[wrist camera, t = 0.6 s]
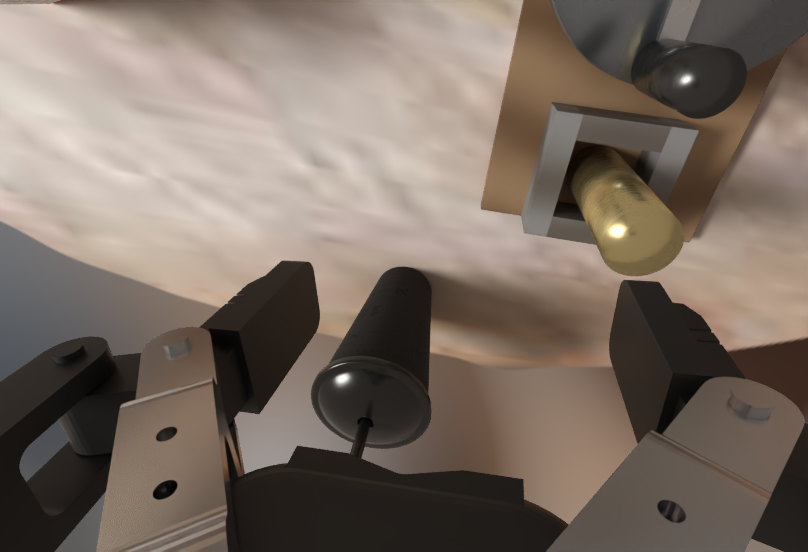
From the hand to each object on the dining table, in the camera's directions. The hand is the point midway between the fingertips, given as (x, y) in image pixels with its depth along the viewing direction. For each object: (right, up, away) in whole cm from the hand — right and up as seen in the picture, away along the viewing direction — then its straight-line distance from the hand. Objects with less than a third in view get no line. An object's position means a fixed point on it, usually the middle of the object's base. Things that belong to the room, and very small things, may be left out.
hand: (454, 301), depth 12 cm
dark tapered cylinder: (-1, 0, +27) cm, 27 cm away
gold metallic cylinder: (+12, +8, +18) cm, 23 cm away
